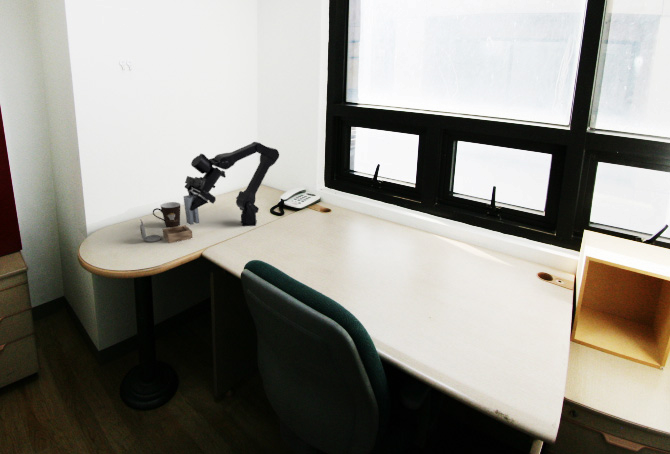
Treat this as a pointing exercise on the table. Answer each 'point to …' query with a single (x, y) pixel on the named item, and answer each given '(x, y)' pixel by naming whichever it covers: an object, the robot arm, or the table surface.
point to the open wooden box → (177, 233)
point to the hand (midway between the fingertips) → (188, 209)
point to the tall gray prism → (190, 215)
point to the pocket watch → (148, 238)
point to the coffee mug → (170, 214)
